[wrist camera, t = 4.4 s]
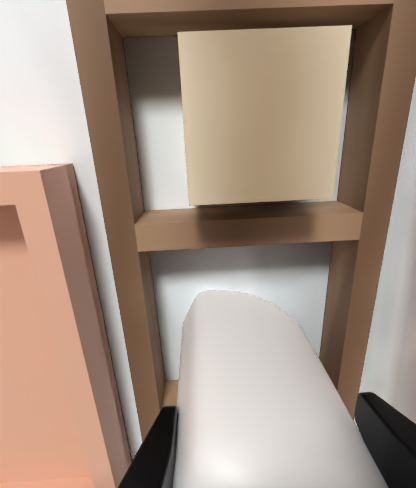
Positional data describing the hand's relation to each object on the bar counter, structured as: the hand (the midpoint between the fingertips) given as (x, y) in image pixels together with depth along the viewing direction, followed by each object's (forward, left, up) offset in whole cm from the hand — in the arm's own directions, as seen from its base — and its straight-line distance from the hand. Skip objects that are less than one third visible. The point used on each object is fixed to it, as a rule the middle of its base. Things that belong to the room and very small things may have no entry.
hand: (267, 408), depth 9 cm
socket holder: (0, 0, -5) cm, 5 cm away
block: (0, -8, -6) cm, 10 cm away
